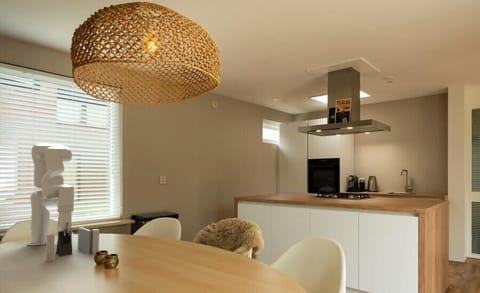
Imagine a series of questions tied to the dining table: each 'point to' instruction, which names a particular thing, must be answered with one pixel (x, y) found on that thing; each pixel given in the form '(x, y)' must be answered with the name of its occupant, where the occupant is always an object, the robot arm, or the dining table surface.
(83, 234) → the door
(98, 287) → the dining table surface
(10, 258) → the dining table surface
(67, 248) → the phone stand
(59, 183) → the robot arm
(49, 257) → the post
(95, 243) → the hinge post
